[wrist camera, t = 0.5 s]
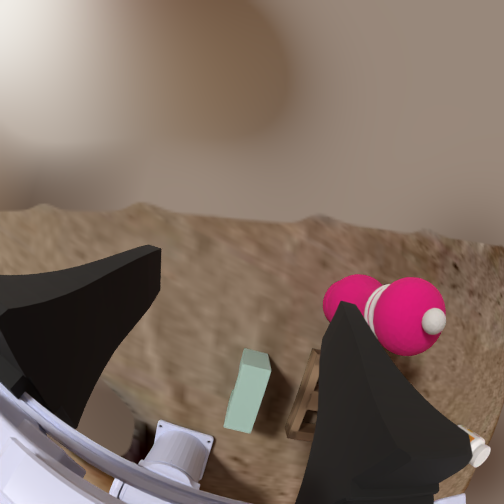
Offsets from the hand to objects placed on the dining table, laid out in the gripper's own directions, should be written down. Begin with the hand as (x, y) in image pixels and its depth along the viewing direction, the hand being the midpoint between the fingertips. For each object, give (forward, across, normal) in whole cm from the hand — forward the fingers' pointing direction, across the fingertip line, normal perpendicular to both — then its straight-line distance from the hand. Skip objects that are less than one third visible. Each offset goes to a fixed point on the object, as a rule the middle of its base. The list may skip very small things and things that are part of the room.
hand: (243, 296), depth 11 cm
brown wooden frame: (+14, -11, +23) cm, 29 cm away
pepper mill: (+21, -11, +13) cm, 27 cm away
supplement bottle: (+12, -41, +30) cm, 53 cm away
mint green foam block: (+14, -1, +23) cm, 27 cm away
